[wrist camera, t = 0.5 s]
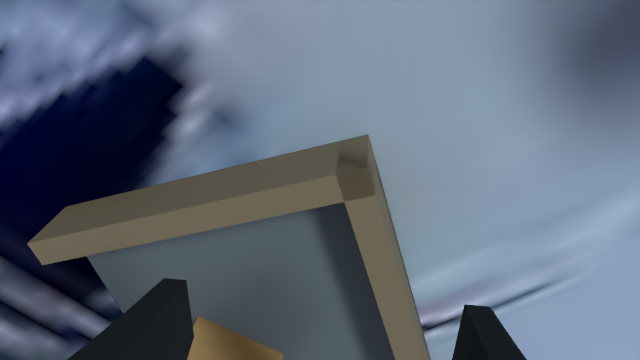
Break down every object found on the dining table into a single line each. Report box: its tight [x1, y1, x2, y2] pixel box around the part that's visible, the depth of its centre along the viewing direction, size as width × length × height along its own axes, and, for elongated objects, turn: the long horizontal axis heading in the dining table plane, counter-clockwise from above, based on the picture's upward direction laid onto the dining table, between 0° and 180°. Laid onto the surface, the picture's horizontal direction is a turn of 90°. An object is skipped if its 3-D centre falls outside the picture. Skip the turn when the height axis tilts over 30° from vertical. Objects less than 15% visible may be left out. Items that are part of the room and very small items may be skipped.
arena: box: [27, 135, 431, 360], centre depth 24 cm, size 15×15×3 cm
